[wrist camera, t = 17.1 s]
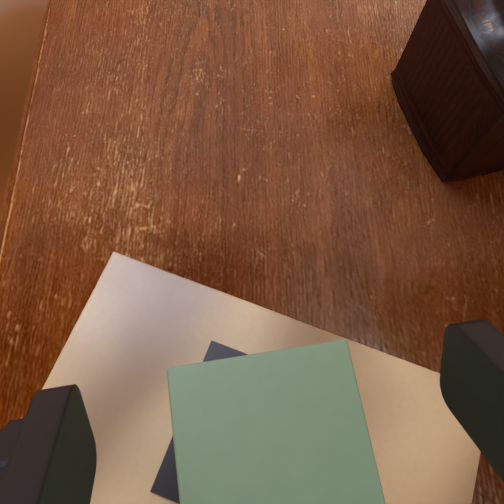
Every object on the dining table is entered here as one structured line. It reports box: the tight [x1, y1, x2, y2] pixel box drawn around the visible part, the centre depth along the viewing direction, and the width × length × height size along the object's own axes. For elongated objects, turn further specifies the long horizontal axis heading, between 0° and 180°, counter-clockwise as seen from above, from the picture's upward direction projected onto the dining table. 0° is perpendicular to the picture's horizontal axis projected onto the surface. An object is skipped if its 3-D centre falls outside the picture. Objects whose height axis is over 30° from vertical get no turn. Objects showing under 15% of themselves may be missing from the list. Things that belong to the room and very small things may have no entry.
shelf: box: [42, 252, 481, 504], centre depth 25 cm, size 20×12×7 cm, turn 70°
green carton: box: [166, 339, 386, 504], centre depth 17 cm, size 5×5×10 cm
